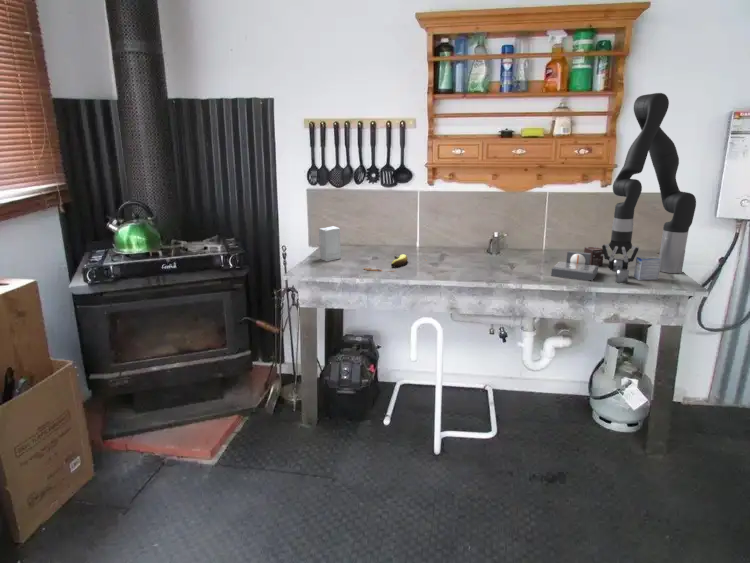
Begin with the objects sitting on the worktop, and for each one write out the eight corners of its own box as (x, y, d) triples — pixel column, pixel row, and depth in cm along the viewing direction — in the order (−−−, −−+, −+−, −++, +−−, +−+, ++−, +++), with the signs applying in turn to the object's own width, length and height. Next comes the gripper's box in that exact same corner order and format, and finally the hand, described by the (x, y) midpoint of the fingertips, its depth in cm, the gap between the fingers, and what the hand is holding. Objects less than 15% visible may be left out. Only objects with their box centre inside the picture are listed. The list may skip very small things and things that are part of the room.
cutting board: (419, 276, 218) (420, 267, 217) (357, 271, 226) (357, 263, 225) (435, 257, 251) (435, 249, 249) (380, 253, 258) (380, 246, 257)
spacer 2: (627, 281, 208) (629, 269, 207) (626, 284, 205) (628, 272, 203) (615, 280, 210) (617, 268, 209) (614, 282, 207) (616, 270, 205)
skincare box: (334, 256, 250) (333, 225, 246) (341, 259, 245) (340, 227, 241) (319, 259, 245) (318, 227, 241) (326, 261, 241) (325, 229, 236)
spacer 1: (623, 270, 216) (625, 258, 215) (623, 272, 213) (624, 260, 211) (612, 269, 218) (613, 257, 217) (611, 271, 215) (612, 259, 213)
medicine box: (652, 277, 214) (655, 256, 212) (658, 280, 210) (661, 259, 207) (633, 277, 214) (636, 256, 211) (638, 280, 210) (641, 259, 207)
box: (590, 266, 231) (592, 250, 228) (582, 263, 236) (584, 247, 234) (602, 265, 232) (604, 249, 230) (593, 262, 238) (595, 246, 236)
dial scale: (597, 272, 221) (599, 254, 218) (592, 281, 209) (594, 261, 207) (558, 268, 228) (559, 250, 226) (551, 275, 216) (553, 257, 214)
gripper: (642, 228, 210) (637, 270, 215) (604, 226, 217) (600, 266, 222) (641, 232, 204) (636, 274, 209) (602, 229, 211) (597, 270, 216)
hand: (617, 270), depth 215 cm, fingers closed on spacer 1, 4 cm apart
